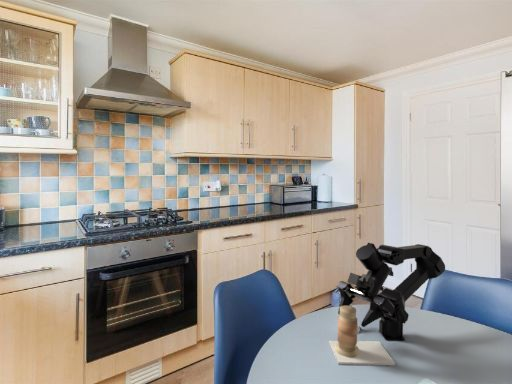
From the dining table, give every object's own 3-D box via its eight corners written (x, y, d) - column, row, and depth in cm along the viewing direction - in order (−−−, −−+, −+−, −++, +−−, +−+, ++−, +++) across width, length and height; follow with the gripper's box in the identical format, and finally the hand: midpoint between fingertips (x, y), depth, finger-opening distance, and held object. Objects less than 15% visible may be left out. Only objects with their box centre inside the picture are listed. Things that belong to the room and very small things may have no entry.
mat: (379, 343, 100) (379, 341, 100) (394, 365, 88) (395, 363, 88) (329, 342, 101) (329, 340, 101) (338, 364, 89) (338, 362, 89)
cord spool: (348, 343, 99) (349, 303, 99) (363, 354, 93) (364, 311, 92) (330, 347, 97) (331, 306, 96) (344, 359, 90) (345, 315, 90)
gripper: (340, 257, 105) (315, 295, 100) (389, 271, 89) (361, 317, 84) (356, 276, 109) (333, 314, 104) (405, 293, 93) (380, 338, 88)
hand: (350, 320), depth 95 cm, fingers open, 9 cm apart
